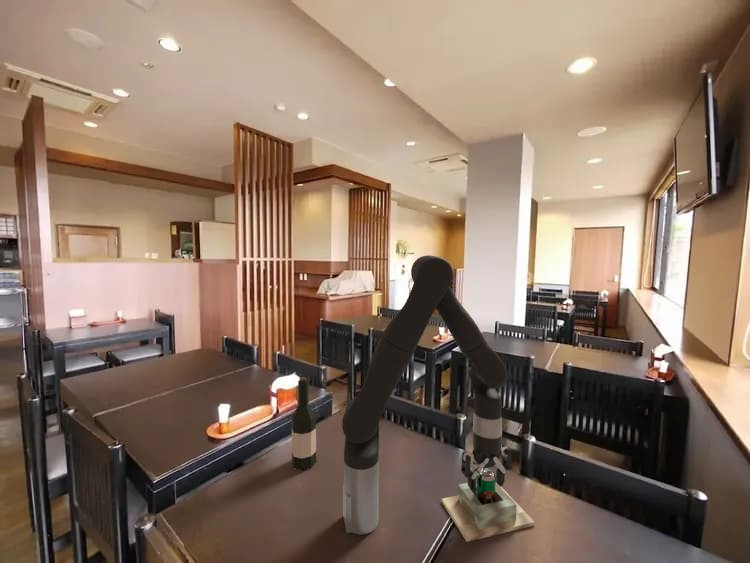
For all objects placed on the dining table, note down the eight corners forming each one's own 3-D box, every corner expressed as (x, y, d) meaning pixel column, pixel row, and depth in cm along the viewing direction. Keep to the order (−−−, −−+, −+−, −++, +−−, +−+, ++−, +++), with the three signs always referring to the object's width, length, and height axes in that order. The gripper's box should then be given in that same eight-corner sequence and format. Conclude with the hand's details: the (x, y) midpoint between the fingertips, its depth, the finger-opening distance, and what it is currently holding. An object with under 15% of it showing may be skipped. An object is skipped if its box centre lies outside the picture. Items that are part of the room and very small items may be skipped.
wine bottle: (321, 462, 113) (320, 378, 111) (301, 473, 107) (299, 384, 105) (307, 452, 119) (306, 372, 117) (287, 463, 113) (285, 378, 111)
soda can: (479, 503, 93) (480, 463, 93) (497, 512, 90) (498, 470, 90) (472, 514, 90) (473, 472, 89) (491, 523, 86) (491, 480, 86)
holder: (466, 541, 81) (466, 520, 80) (441, 501, 94) (441, 483, 94) (534, 525, 86) (534, 505, 85) (501, 489, 99) (501, 472, 99)
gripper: (471, 440, 83) (470, 501, 84) (518, 433, 87) (517, 491, 88) (457, 426, 90) (456, 482, 91) (501, 420, 94) (500, 474, 95)
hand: (486, 486), depth 90 cm, fingers open, 8 cm apart
